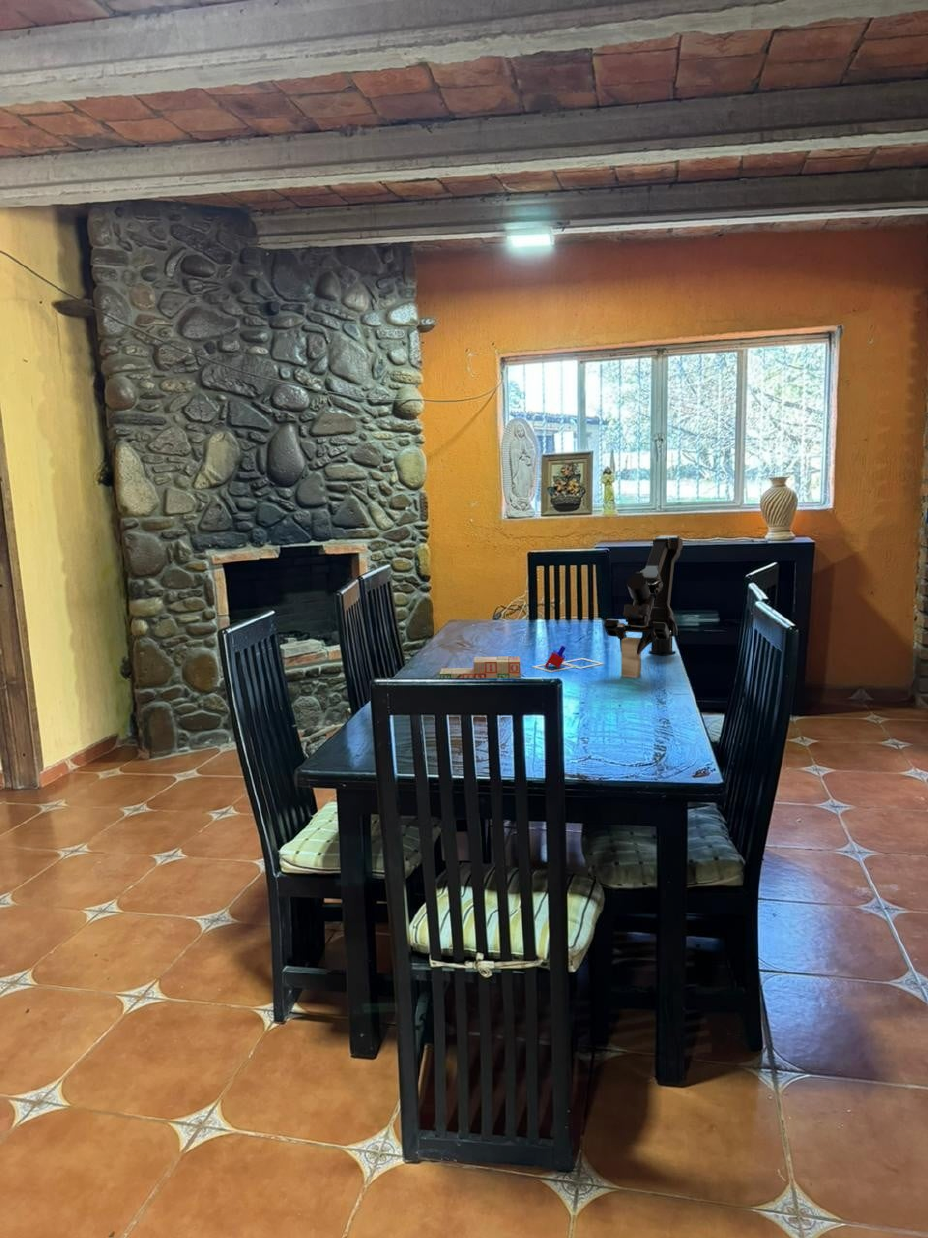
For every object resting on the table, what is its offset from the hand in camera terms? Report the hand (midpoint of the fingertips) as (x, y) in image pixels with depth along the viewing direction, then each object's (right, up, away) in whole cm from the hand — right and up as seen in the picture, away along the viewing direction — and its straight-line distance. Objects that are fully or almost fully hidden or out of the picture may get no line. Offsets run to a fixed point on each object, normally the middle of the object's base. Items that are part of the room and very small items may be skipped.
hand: (629, 652), depth 237 cm
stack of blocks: (-44, -13, -22) cm, 51 cm away
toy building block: (-20, -5, +16) cm, 26 cm away
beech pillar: (+1, -7, +2) cm, 7 cm away
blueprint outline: (-16, -5, +17) cm, 24 cm away
